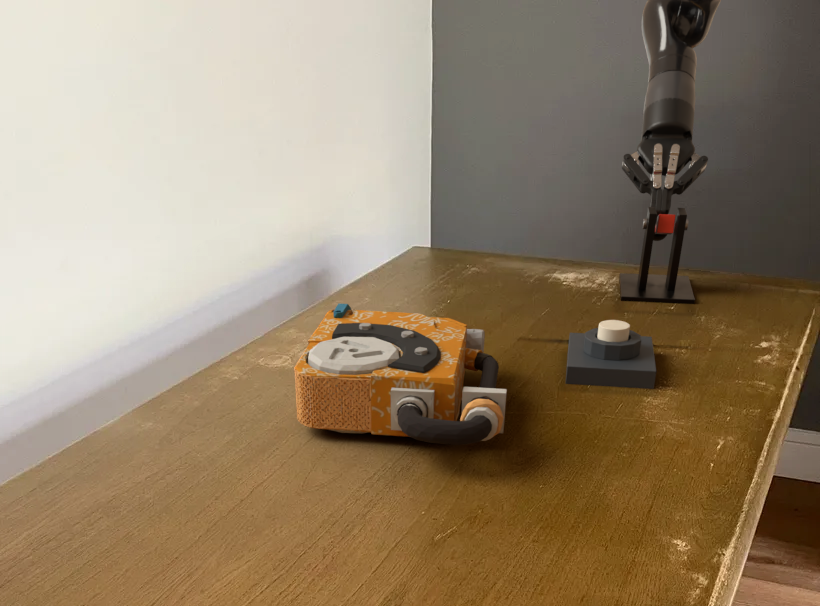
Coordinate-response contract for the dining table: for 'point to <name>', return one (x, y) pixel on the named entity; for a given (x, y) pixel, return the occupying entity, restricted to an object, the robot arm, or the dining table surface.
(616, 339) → the stop button
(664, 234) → the red lever
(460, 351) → the device
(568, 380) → the base block
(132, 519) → the dining table surface
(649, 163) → the robot arm
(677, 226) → the lever bracket
